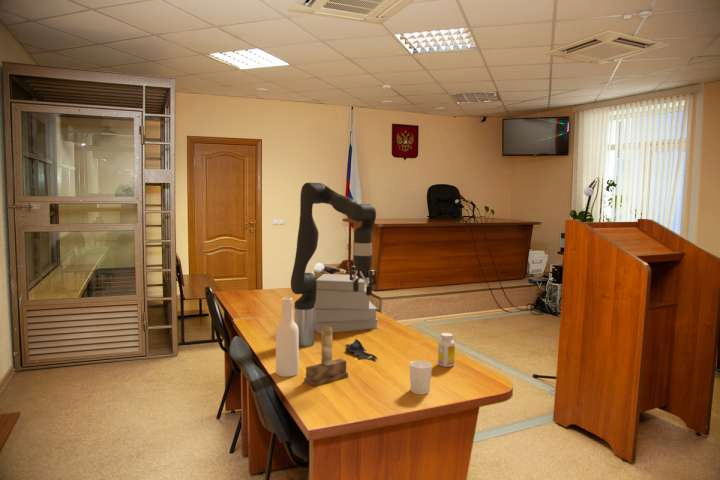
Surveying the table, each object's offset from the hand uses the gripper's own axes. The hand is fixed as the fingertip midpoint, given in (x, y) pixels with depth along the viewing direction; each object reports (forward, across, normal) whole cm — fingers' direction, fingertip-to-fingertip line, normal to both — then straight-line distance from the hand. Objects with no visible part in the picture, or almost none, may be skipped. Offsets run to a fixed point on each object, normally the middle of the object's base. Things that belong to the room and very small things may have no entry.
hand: (362, 293), depth 201 cm
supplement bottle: (+30, +20, +29) cm, 46 cm away
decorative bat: (+31, -15, +9) cm, 35 cm away
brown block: (+30, +4, -20) cm, 36 cm away
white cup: (+30, +33, +1) cm, 45 cm away
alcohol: (+30, -10, -29) cm, 43 cm away
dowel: (+24, +4, -20) cm, 32 cm away
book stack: (+30, -53, +29) cm, 68 cm away
